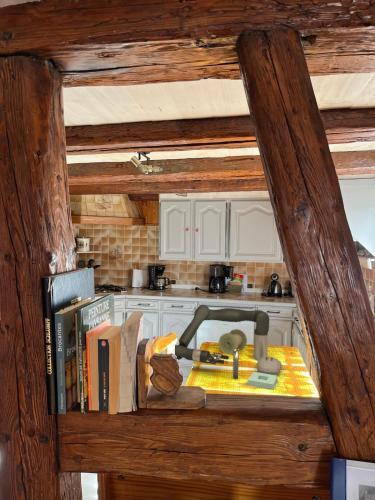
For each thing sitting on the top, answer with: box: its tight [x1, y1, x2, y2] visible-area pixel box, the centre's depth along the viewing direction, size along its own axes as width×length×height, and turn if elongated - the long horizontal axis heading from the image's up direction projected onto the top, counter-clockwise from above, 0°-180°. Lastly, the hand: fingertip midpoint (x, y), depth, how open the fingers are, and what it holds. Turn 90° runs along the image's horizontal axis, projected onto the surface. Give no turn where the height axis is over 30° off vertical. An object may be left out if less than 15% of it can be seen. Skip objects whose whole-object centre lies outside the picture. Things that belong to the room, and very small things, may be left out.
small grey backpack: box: [256, 356, 283, 377], centre depth 209 cm, size 15×8×20 cm
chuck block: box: [247, 371, 278, 391], centre depth 191 cm, size 14×14×3 cm
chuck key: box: [232, 347, 240, 380], centre depth 198 cm, size 7×3×18 cm, turn 156°
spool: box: [218, 328, 248, 356], centre depth 249 cm, size 16×15×15 cm
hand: (226, 359), depth 200 cm, fingers open, 8 cm apart
